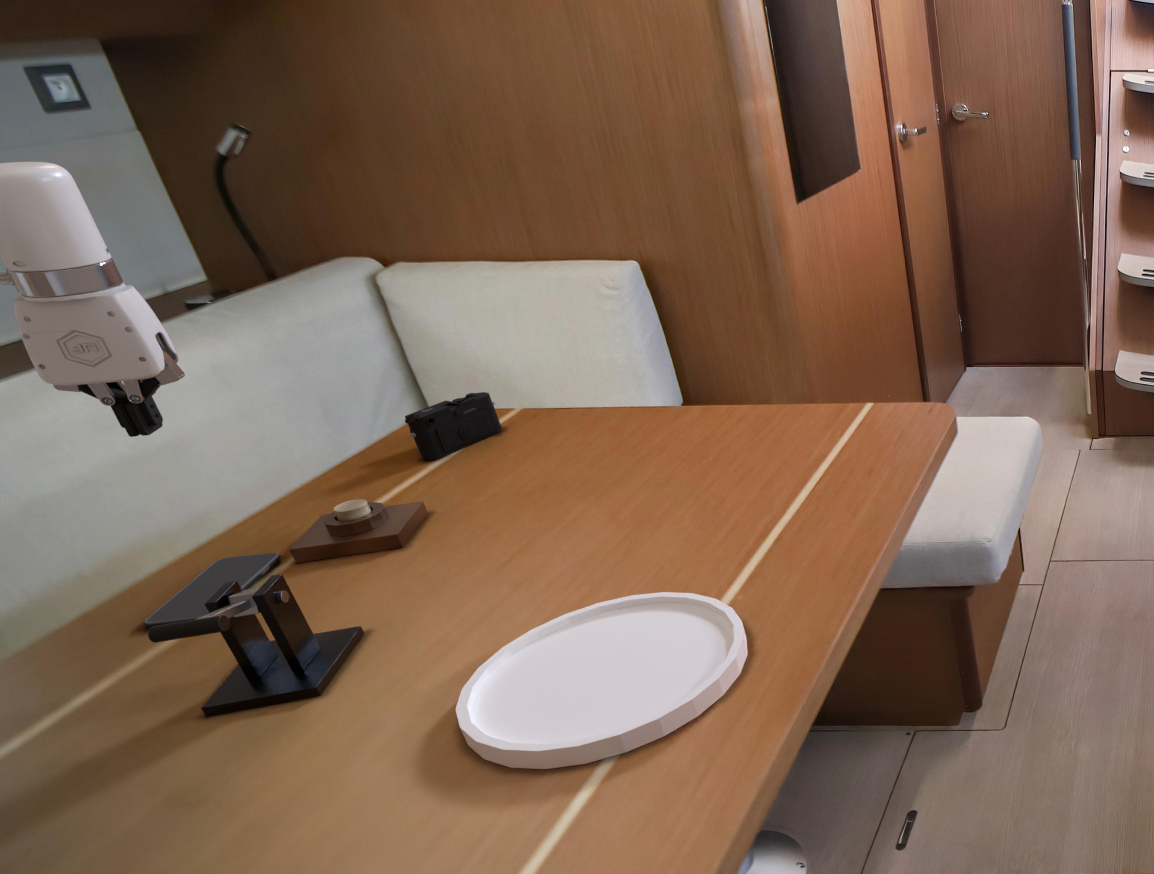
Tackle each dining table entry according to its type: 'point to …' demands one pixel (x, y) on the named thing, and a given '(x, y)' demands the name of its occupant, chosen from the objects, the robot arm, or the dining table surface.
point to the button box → (360, 532)
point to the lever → (207, 619)
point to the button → (352, 509)
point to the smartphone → (211, 587)
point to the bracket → (276, 651)
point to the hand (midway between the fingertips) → (146, 431)
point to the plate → (602, 680)
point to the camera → (453, 425)
